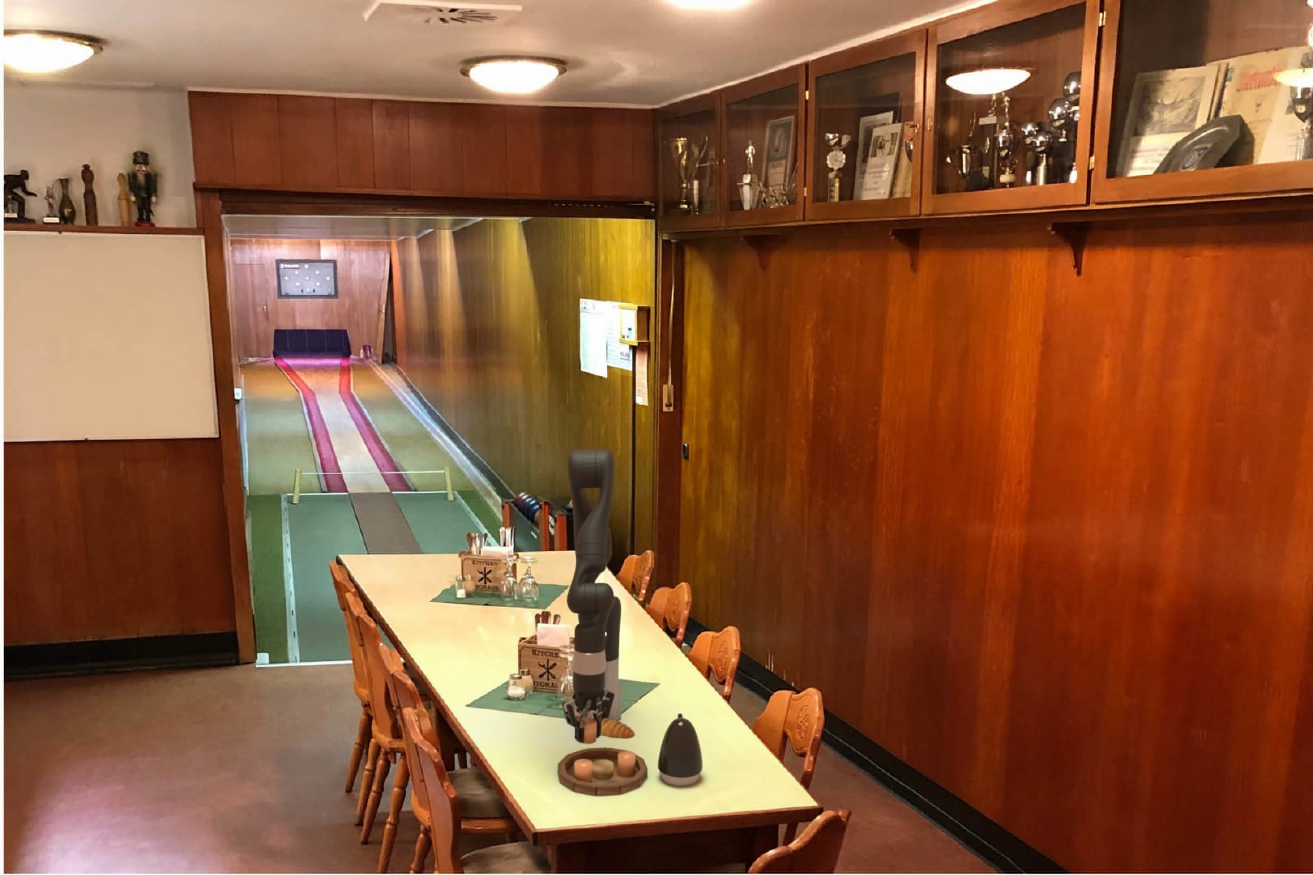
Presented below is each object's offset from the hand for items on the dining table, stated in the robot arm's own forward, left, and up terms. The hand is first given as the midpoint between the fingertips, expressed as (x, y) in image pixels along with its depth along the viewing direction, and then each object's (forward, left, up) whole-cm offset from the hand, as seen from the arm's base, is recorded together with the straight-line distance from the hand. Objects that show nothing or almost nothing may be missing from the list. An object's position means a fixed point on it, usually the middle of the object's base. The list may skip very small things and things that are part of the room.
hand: (587, 738), depth 239 cm
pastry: (-17, -12, -8) cm, 22 cm away
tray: (0, +5, -8) cm, 9 cm away
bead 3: (-5, +8, -7) cm, 12 cm away
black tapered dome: (-13, +17, -8) cm, 23 cm away
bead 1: (+5, +6, -7) cm, 10 cm away
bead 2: (0, 0, 0) cm, 0 cm away
